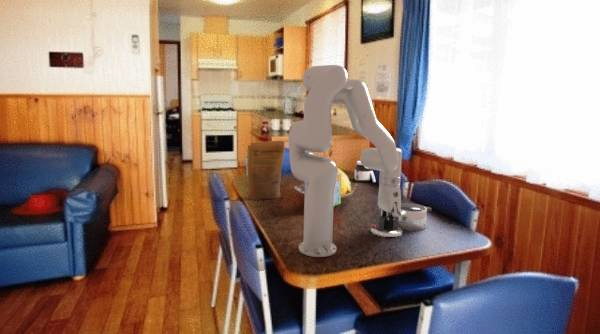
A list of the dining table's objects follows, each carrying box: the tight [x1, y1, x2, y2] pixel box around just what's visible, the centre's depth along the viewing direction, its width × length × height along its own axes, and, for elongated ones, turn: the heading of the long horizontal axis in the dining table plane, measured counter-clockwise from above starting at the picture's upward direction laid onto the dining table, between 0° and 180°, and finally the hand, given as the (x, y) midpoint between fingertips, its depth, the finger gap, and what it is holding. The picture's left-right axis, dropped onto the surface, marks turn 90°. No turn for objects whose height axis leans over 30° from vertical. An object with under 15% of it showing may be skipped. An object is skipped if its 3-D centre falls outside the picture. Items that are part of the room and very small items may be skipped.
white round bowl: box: [370, 214, 403, 238], centre depth 153 cm, size 12×12×6 cm
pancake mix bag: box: [246, 140, 286, 201], centre depth 194 cm, size 7×19×28 cm, turn 112°
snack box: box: [304, 172, 342, 207], centre depth 182 cm, size 21×6×15 cm, turn 141°
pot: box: [397, 202, 433, 231], centre depth 162 cm, size 12×17×8 cm
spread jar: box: [353, 160, 377, 183], centre depth 237 cm, size 12×11×12 cm
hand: (386, 228), depth 154 cm, fingers closed on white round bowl, 2 cm apart
